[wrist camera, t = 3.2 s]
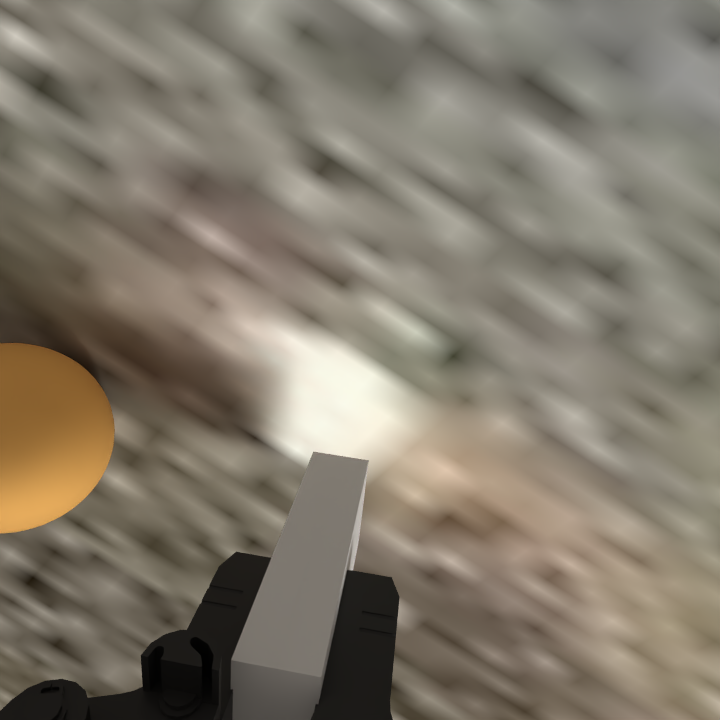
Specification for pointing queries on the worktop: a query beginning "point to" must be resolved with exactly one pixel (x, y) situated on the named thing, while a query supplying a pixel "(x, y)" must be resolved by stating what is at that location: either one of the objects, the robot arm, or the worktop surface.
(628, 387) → the worktop surface
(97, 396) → the ball
